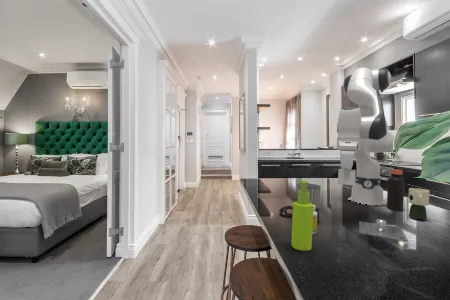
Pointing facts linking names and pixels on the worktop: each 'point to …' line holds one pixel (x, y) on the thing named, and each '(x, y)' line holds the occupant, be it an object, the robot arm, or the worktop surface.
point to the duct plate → (385, 234)
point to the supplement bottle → (314, 220)
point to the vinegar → (395, 190)
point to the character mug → (418, 203)
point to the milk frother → (313, 198)
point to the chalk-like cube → (351, 177)
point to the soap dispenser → (302, 220)
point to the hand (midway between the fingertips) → (346, 178)
